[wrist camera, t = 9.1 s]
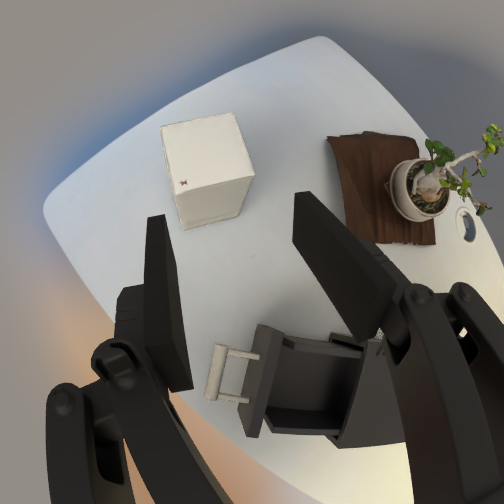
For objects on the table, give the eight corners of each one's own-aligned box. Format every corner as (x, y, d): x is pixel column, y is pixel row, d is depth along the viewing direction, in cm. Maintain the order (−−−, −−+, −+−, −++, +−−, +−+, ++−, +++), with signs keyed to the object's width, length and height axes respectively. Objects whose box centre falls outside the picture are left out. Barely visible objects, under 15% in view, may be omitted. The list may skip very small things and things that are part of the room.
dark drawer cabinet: (308, 418, 34) (338, 449, 24) (330, 332, 36) (369, 340, 27) (390, 418, 35) (427, 438, 26) (410, 343, 38) (453, 349, 28)
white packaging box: (239, 217, 36) (257, 177, 24) (182, 231, 35) (171, 196, 22) (224, 166, 37) (235, 110, 25) (170, 178, 36) (157, 125, 23)
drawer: (199, 403, 31) (199, 429, 23) (218, 315, 33) (223, 320, 25) (333, 418, 33) (360, 440, 26) (354, 340, 35) (387, 348, 28)
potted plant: (429, 244, 44) (530, 247, 19) (331, 252, 45) (393, 266, 20) (414, 136, 43) (494, 77, 18) (318, 135, 45) (354, 46, 20)
